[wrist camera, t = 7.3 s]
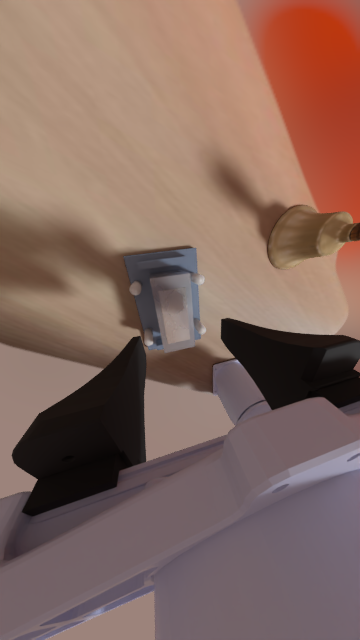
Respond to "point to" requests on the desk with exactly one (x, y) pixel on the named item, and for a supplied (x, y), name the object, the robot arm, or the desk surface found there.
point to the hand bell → (309, 235)
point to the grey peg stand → (142, 289)
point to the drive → (174, 309)
